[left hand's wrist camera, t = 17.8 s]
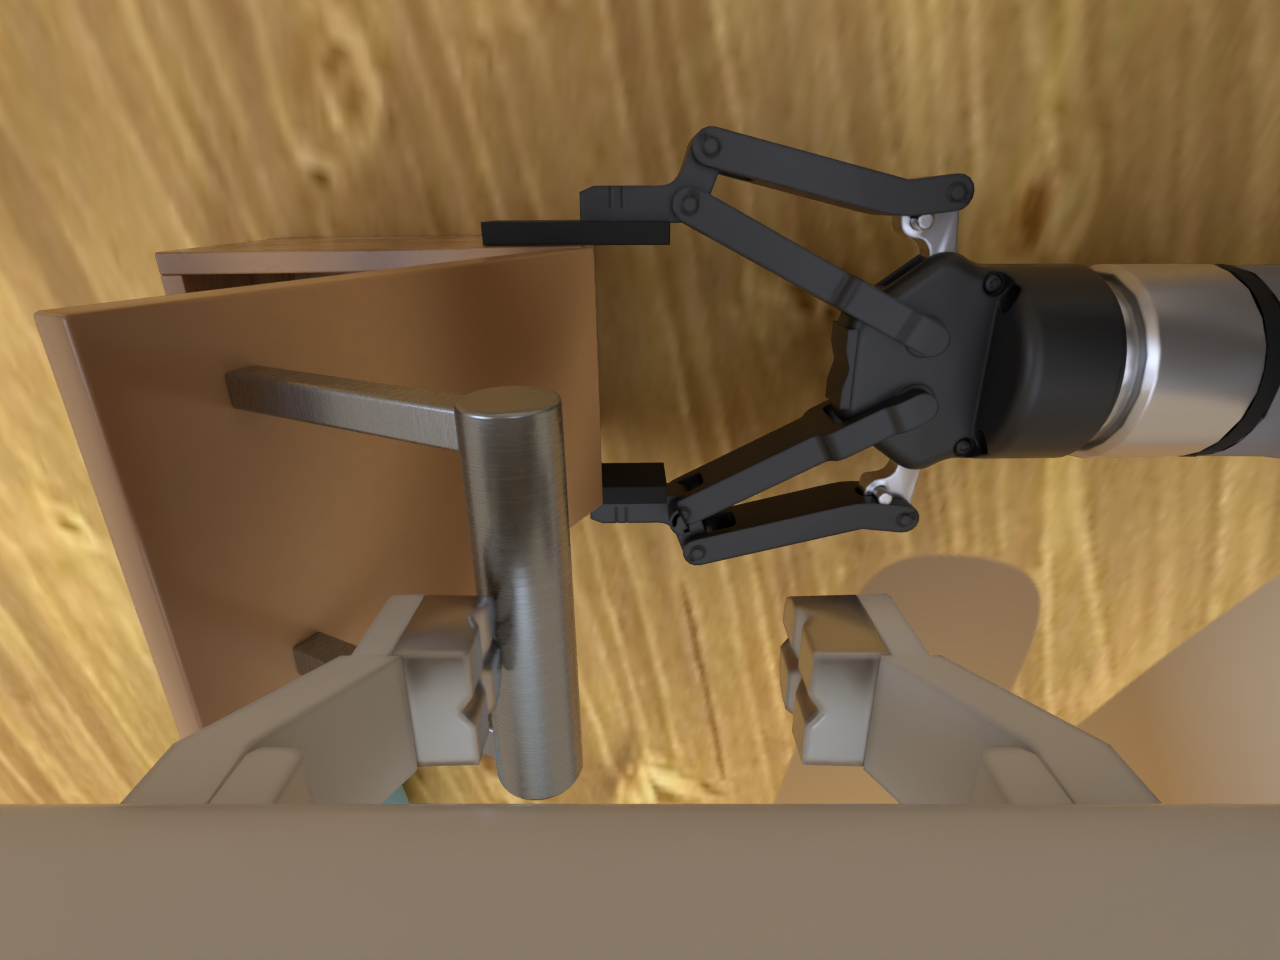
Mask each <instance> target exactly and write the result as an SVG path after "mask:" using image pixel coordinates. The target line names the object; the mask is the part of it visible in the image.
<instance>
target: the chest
mask: <svg viewBox="0 0 1280 960" xmlns="http://www.w3.org/2000/svg"><path fill="white" fill-rule="evenodd" d="M568 247H576V248H592V249H593V250H594V245H483V241H482V235H460V236H390V237H320V238H274V239H267V240H260V241H251V242H243V243H234V244H225V245H217V246H208V247H199V248H191V249H182V250H173V251H164V252H157V253H155V256H156V260H157V264H158V267H159V271H160V274H161V275H162V276H161V279H162V283H163V286H164V290H165V294H166V295H175V294H183V293H191V292H200V291H208V290H217V289H225V288H233V287H242V286H250V285H258V284H267V283H275V282H284V281H292V280H300V279H309V278H317V277H325V276H334V275H342V274H351V273H359V272H367V271H376V270H384V269H392V268H401V267H409V266H418V265H426V264H434V263H443V262H451V261H459V260H468V259H476V258H485V257H493V256H501V255H510V254H518V253H526V252H535V251H543V250H552V249H560V248H568ZM594 276H595V252H594ZM595 303H596V280H595ZM596 330H597V307H596ZM597 357H598V335H597ZM598 384H599V362H598ZM599 412H600V390H599ZM600 429H601V417H600Z"/></svg>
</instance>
